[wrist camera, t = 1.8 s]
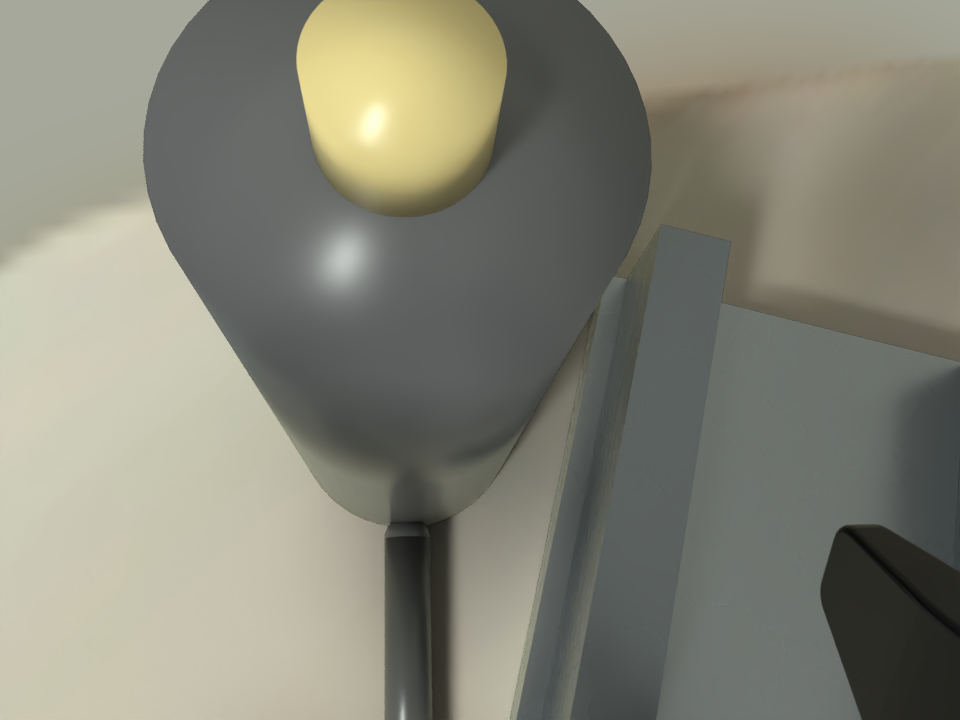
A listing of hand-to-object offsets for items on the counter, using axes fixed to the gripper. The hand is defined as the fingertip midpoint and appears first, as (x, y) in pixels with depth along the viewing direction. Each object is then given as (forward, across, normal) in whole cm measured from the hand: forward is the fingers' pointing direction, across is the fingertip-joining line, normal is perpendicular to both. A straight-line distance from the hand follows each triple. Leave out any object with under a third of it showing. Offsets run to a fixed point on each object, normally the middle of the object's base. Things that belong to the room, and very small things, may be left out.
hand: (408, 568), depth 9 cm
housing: (+8, -9, +7) cm, 14 cm away
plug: (+8, 0, +7) cm, 11 cm away
